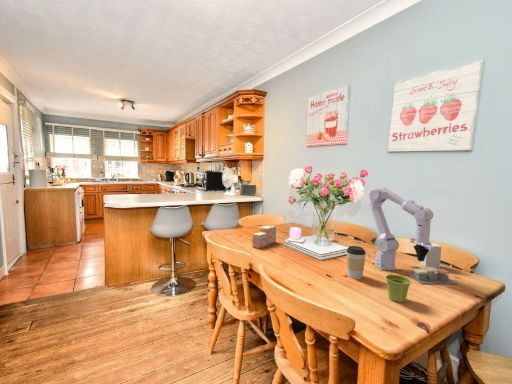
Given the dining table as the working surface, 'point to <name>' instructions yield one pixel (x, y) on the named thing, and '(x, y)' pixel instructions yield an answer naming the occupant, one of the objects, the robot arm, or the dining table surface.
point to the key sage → (420, 271)
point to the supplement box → (432, 257)
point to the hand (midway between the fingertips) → (420, 260)
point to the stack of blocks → (264, 236)
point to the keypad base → (431, 278)
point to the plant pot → (397, 287)
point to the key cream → (431, 270)
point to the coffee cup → (355, 261)
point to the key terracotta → (442, 272)
